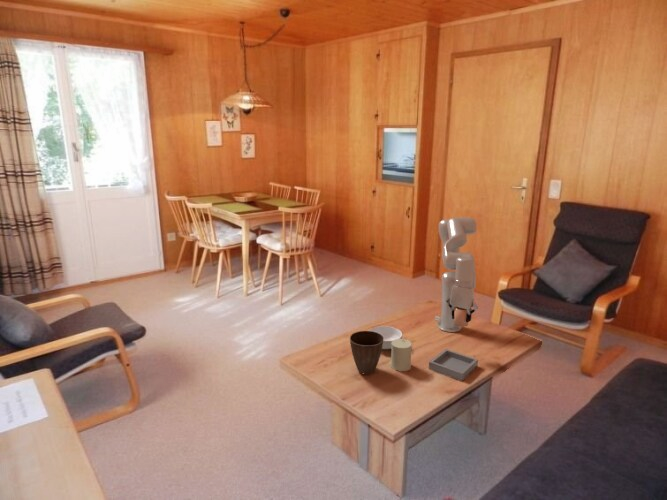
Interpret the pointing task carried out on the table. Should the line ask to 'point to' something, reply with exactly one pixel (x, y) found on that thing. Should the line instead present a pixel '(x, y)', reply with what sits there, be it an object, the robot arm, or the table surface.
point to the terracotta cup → (460, 317)
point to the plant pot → (366, 350)
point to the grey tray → (453, 364)
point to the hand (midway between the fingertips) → (461, 319)
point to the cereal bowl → (387, 335)
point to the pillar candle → (401, 354)
